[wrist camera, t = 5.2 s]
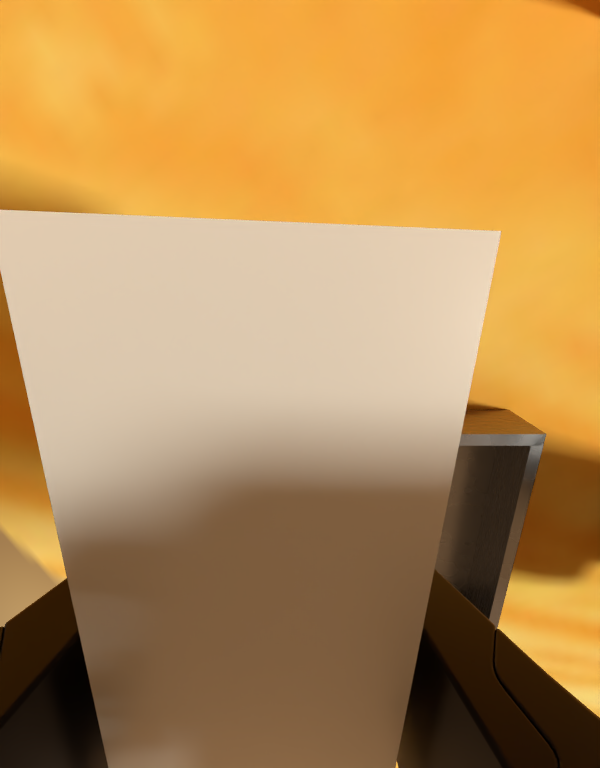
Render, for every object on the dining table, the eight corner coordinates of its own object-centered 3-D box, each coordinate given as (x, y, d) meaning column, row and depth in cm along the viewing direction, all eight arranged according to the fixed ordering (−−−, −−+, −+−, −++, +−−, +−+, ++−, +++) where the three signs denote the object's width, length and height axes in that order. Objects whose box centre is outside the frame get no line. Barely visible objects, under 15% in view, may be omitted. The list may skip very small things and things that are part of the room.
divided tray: (508, 409, 19) (546, 434, 17) (464, 618, 24) (487, 664, 21) (134, 409, 19) (106, 434, 16) (166, 622, 24) (149, 670, 21)
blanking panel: (369, 254, 8) (501, 231, 3) (333, 652, 11) (362, 931, 7) (181, 247, 7) (-14, 208, 3) (207, 651, 11) (144, 935, 6)
